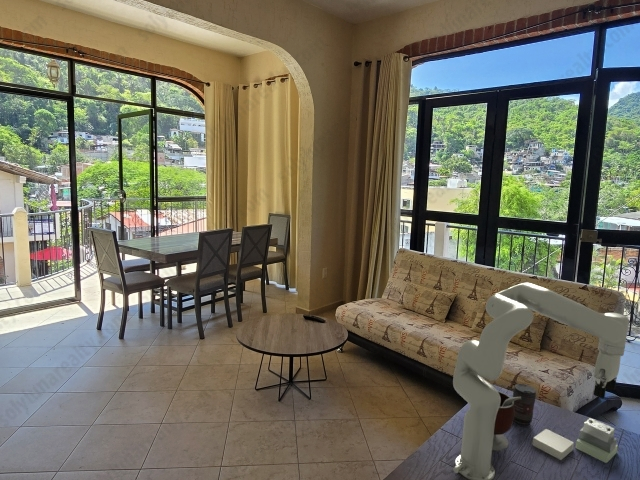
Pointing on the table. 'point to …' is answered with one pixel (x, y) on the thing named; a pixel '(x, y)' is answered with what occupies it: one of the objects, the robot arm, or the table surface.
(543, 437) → the stand
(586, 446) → the stand
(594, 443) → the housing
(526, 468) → the table surface
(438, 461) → the table surface
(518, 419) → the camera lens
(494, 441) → the mate gourd
